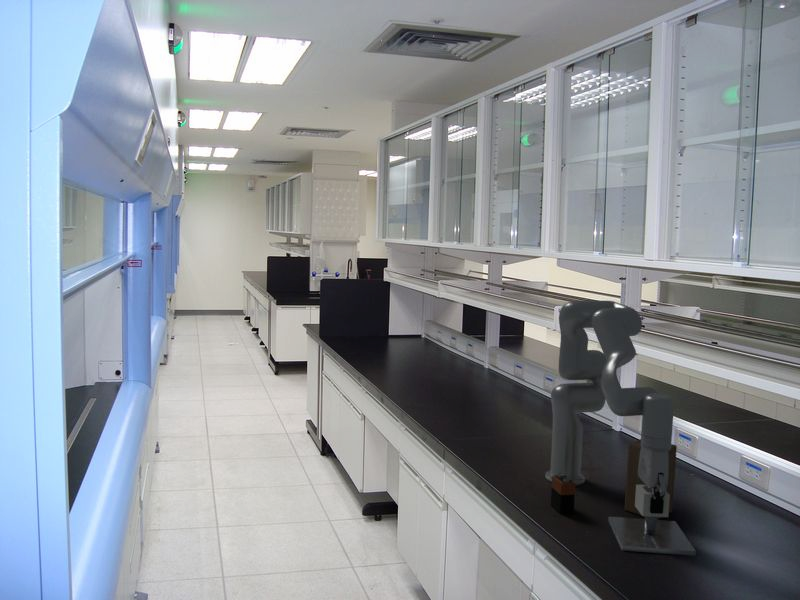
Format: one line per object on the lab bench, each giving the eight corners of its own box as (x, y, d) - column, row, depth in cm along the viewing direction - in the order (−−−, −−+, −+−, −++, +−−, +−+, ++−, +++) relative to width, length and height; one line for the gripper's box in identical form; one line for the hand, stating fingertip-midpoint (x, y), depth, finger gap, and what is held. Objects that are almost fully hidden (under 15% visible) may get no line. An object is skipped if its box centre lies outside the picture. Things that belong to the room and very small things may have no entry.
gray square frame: (634, 506, 185) (636, 482, 185) (659, 506, 185) (661, 483, 184) (642, 516, 179) (644, 492, 178) (668, 517, 178) (670, 493, 178)
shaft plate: (608, 520, 192) (610, 493, 192) (674, 525, 191) (676, 497, 190) (621, 550, 175) (623, 520, 174) (695, 555, 173) (697, 525, 172)
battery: (563, 504, 203) (565, 471, 202) (574, 513, 197) (576, 479, 196) (549, 505, 202) (551, 472, 201) (560, 514, 196) (562, 480, 195)
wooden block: (672, 512, 200) (677, 445, 198) (656, 521, 193) (661, 452, 191) (640, 501, 207) (644, 436, 205) (623, 510, 200) (628, 443, 198)
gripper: (631, 431, 189) (627, 494, 190) (652, 451, 171) (648, 520, 173) (658, 432, 188) (654, 495, 190) (683, 452, 171) (678, 521, 173)
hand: (651, 506), depth 182 cm, fingers closed on gray square frame, 6 cm apart
